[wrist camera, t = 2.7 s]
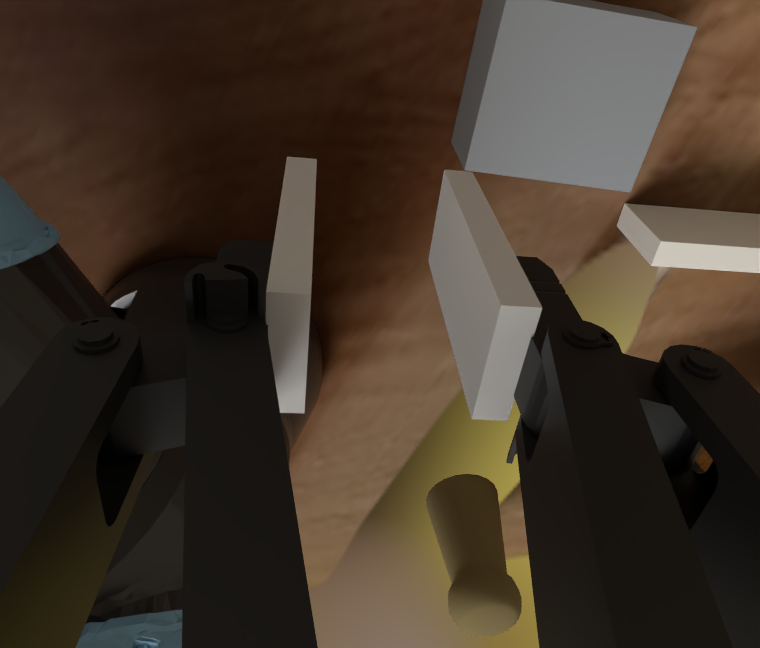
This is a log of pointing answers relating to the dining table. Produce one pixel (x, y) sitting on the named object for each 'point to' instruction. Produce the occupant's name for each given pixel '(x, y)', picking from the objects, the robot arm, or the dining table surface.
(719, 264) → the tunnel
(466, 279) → the robot arm
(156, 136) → the dining table surface
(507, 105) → the slate block
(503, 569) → the pepper mill
